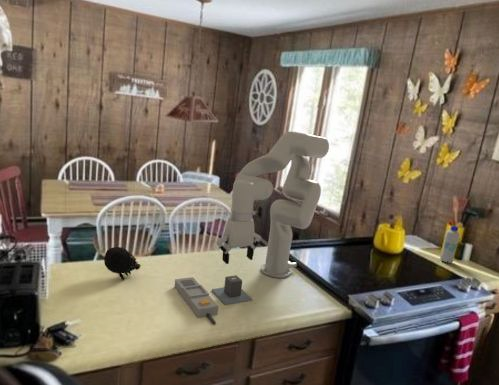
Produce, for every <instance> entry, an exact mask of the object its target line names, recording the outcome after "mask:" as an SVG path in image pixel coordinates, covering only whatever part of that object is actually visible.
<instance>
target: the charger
mask: <svg viewBox="0 0 499 385" xmlns="http://www.w3.org/2000/svg"><path fill="white" fill-rule="evenodd" d="M224 278H225V280H224V285H223V286H224V293H225V294H226V295H227V296H228V297H229V298H231V297H237V296H241V289H242V287H243V286H242V285H243V280H242V279H241V278H240V277H239V276H238V275H235V274H234V275H230V276H225V277H224Z"/></svg>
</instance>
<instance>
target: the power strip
mask: <svg viewBox="0 0 499 385" xmlns="http://www.w3.org/2000/svg"><path fill="white" fill-rule="evenodd" d="M174 289H175V290H176V291H177V293H178V294H179V295H180V296H181V298H182V299H183V300H184V302H185V303H186V304H187V306H188V307H189V308H190V309H191V312H192V313H193V314H194V315H195V316H196V318H198V319H199V318H205V317H207V319H208V320H209V321H210V323H212V324H213V325H216V324H217V322H216V320H215V319H214V318H213V317H212V316H215V315H218V311H219V305H218V304H217V303H216V302H215V300H214V299H213V298H212V297H211V296H210V295H209V294H210V293H209V292H208V291H207V290H206V288H204V286H203V285H202V284H200V283H199V282H198V281H197V280H196V279H195V277H192V276H191V277H185V278H182V277H181V278H175V279H174Z"/></svg>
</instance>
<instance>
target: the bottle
mask: <svg viewBox="0 0 499 385" xmlns="http://www.w3.org/2000/svg"><path fill="white" fill-rule="evenodd" d="M458 230H459V227H458V226H456V225H451V226H450V229H449V230H448V229H447V230H446V233H445V235H444V242H443V246H442V250H441V252H440V257H439V260H440V261H441V262H442V261H443V262H444V263H445V262H446V263H448V264H449V263H450V264H452V263H453V261H454V258H455V253H456V250H457V245H458V243H459V240H460V232H459V231H458ZM446 263H445V264H446Z"/></svg>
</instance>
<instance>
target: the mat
mask: <svg viewBox="0 0 499 385" xmlns="http://www.w3.org/2000/svg"><path fill="white" fill-rule="evenodd" d="M211 291H212V293H213V294H214V295H215V296H216V298H218V299H219V301H220V302H222V304H223V305H224V306H227V305H228V306H229V305H234V304H239V303H245V302H251V301H253V298H252V297H251V296H250V295H249V294H248V293H247V292H246V291H244V289H242V288H241V296H237V297H231V298H229V297H228V296H227V295H226V294H225V293H224V287H216V288H212V289H211Z"/></svg>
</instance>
